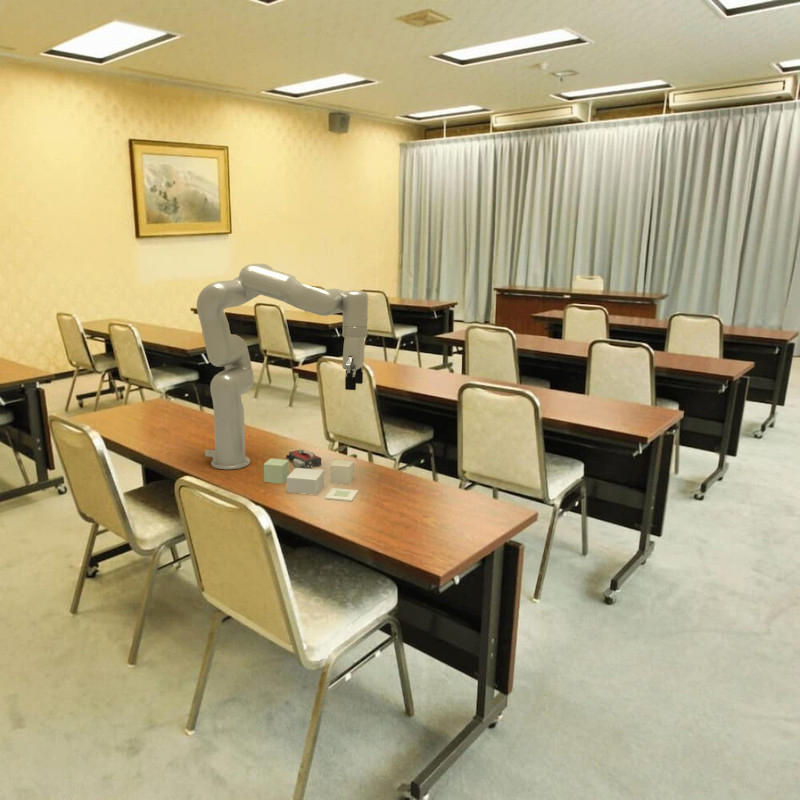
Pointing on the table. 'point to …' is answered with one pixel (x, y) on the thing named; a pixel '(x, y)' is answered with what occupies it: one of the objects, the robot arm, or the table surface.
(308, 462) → the walkie-talkie
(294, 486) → the base block
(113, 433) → the table surface
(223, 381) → the robot arm
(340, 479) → the cream cube
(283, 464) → the sage cube
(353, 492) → the card
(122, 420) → the table surface
